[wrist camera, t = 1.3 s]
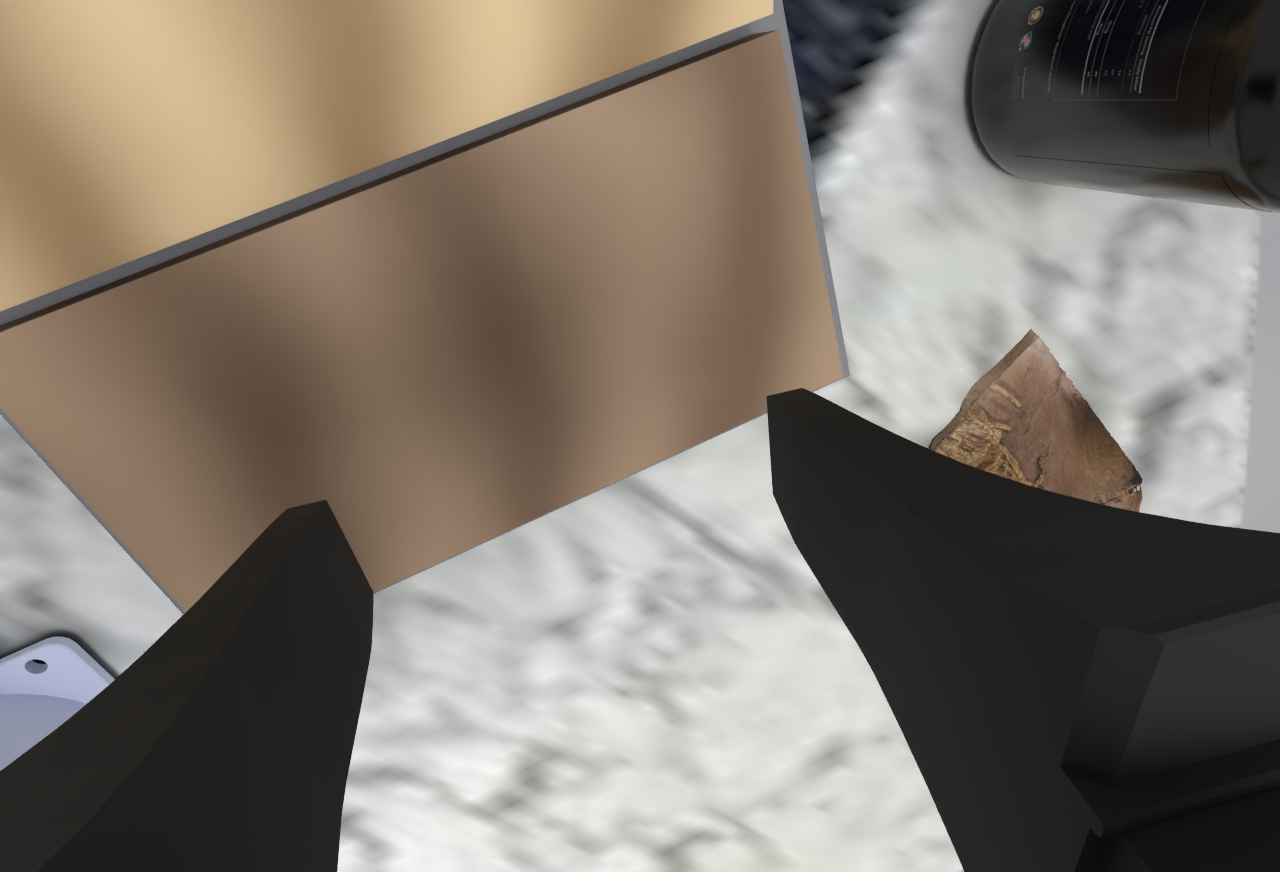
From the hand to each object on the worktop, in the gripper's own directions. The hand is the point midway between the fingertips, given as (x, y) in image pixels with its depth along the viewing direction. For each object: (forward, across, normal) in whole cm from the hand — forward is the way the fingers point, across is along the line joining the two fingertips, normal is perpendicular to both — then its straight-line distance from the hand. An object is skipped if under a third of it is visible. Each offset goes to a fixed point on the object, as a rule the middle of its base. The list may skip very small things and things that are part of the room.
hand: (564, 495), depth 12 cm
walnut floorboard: (+10, +2, +1) cm, 10 cm away
